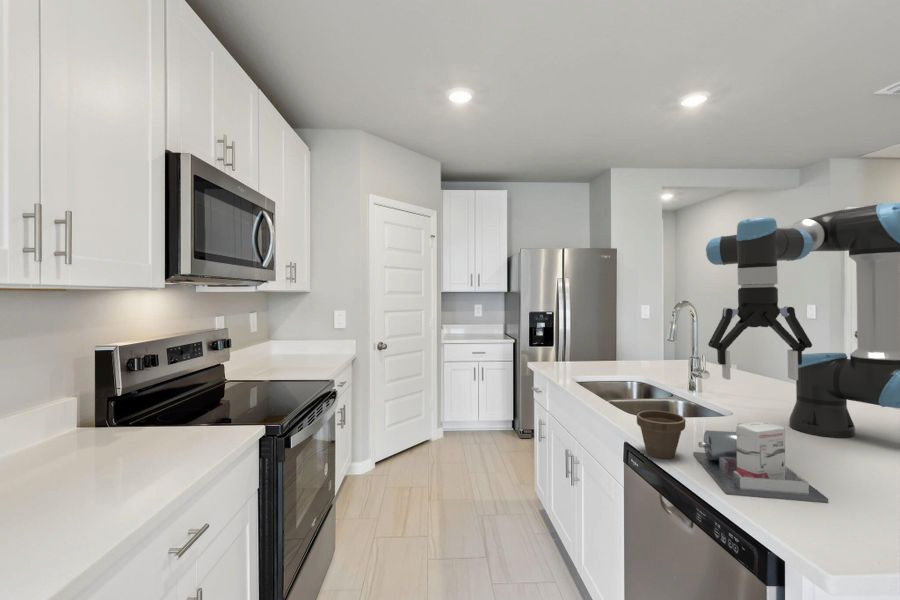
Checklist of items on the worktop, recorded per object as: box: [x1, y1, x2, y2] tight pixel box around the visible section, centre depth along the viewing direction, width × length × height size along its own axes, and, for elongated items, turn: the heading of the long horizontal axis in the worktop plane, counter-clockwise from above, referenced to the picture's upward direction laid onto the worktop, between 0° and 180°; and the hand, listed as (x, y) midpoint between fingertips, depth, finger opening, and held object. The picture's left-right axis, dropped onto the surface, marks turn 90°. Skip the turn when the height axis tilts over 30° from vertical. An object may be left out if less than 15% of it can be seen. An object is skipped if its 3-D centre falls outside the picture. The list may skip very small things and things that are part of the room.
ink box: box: [735, 421, 786, 480], centre depth 97 cm, size 9×5×12 cm, turn 107°
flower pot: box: [636, 409, 687, 460], centre depth 115 cm, size 12×11×10 cm
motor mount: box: [692, 430, 829, 503], centre depth 101 cm, size 18×23×10 cm
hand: (759, 378), depth 103 cm, fingers open, 13 cm apart
